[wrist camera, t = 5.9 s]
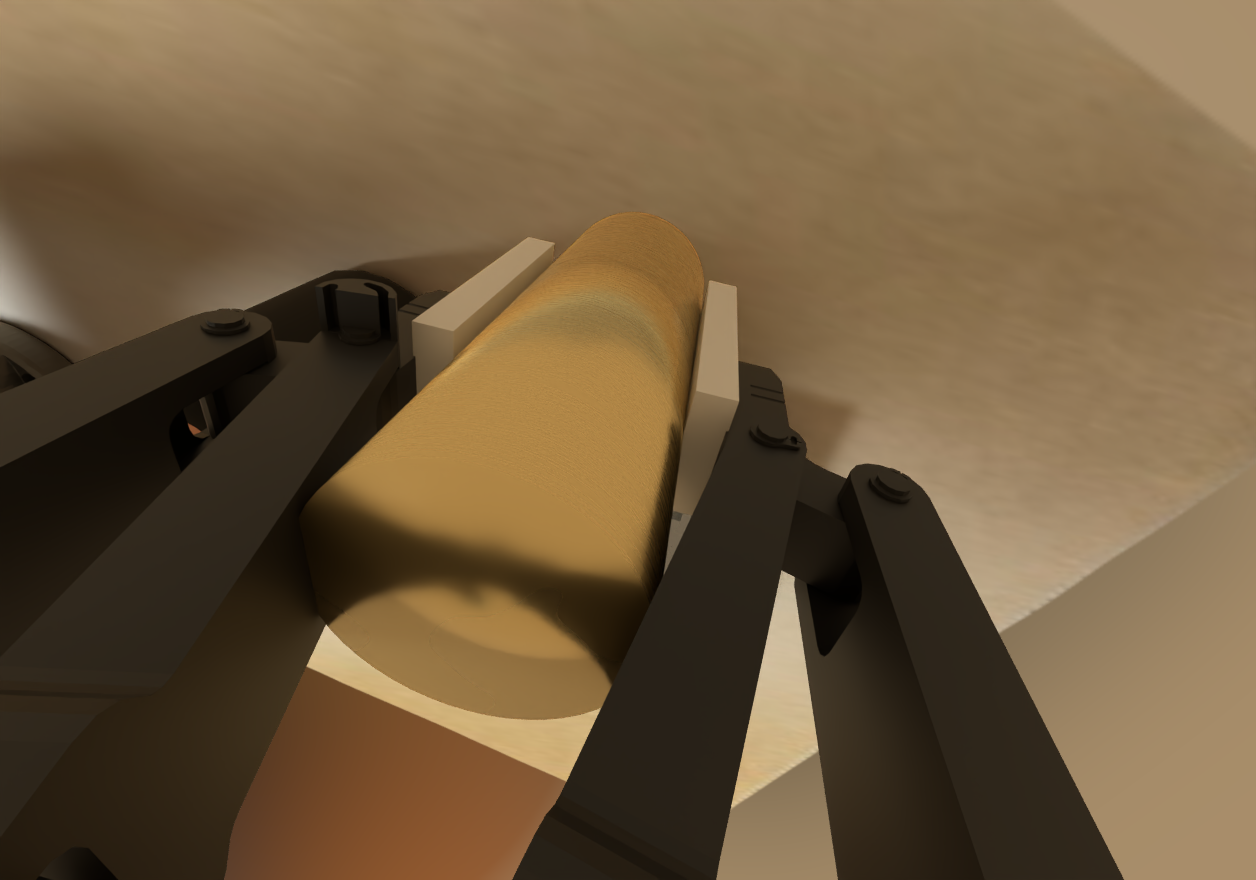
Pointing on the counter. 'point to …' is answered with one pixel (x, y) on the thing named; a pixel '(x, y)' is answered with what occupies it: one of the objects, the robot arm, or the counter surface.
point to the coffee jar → (297, 320)
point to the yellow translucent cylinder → (524, 488)
